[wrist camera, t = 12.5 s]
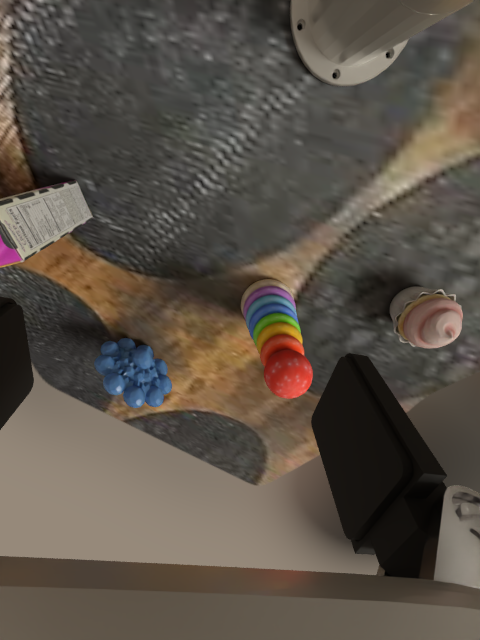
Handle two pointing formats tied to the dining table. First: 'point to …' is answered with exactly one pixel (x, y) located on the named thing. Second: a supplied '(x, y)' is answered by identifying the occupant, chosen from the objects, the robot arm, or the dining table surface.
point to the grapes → (133, 373)
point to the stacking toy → (277, 337)
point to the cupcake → (426, 317)
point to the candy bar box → (39, 220)
